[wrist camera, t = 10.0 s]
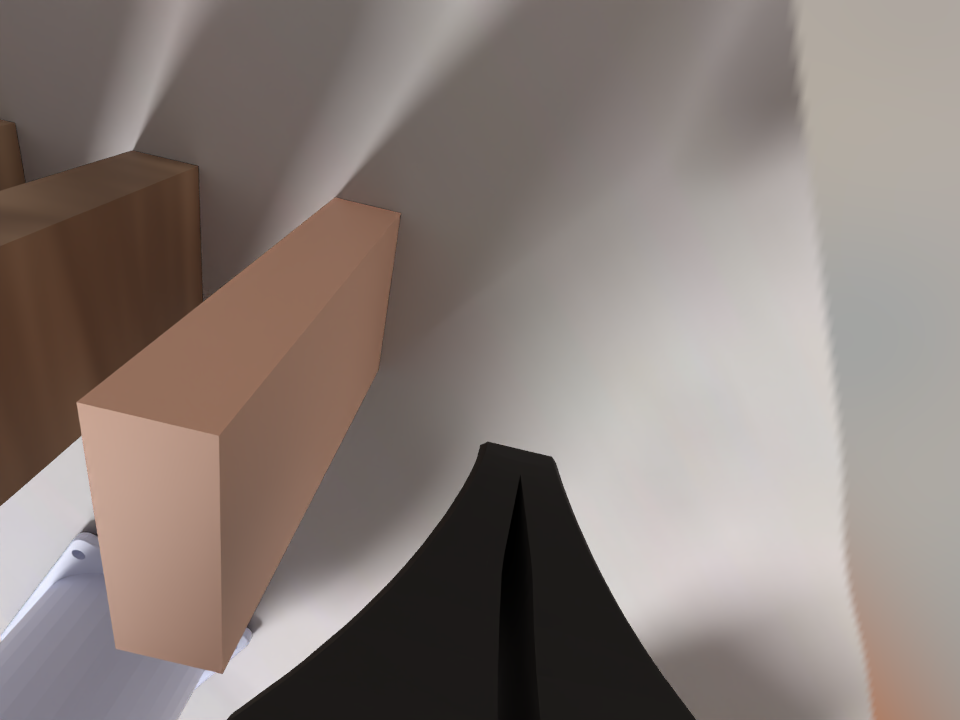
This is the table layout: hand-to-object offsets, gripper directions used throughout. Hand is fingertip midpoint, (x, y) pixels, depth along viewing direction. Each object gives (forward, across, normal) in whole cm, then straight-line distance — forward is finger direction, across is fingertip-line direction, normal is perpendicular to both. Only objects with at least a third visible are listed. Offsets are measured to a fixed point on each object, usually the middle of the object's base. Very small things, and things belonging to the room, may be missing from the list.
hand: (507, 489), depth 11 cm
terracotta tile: (+7, +5, 0) cm, 8 cm away
